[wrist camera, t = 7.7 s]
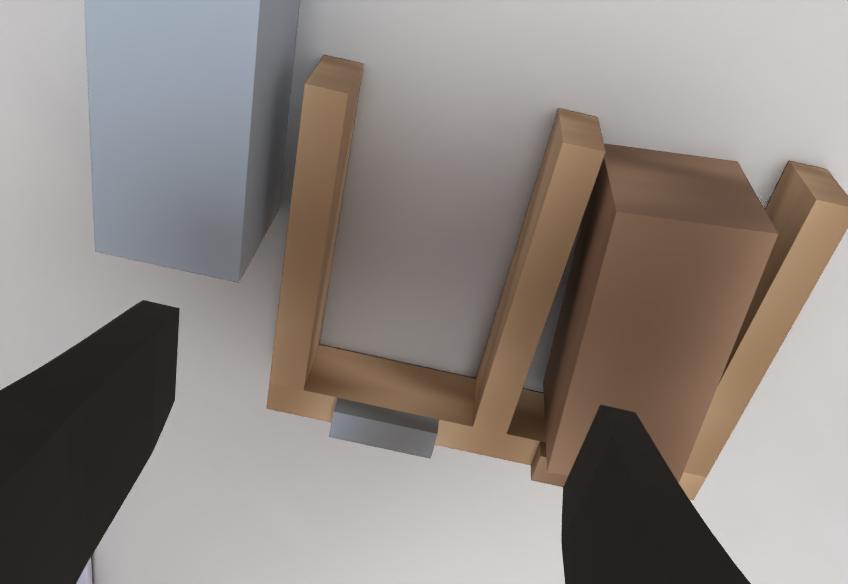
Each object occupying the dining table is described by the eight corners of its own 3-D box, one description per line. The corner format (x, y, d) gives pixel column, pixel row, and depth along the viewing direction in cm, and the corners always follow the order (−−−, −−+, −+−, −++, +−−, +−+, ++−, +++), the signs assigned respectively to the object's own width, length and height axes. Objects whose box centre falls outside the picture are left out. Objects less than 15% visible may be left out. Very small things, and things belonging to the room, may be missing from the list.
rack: (284, 362, 25) (260, 422, 23) (324, 55, 20) (299, 92, 18) (680, 448, 26) (697, 515, 23) (827, 169, 20) (867, 220, 18)
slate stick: (157, 180, 23) (95, 251, 19) (160, -134, 18) (79, -113, 15) (279, 207, 23) (238, 282, 19) (311, -99, 18) (265, -71, 15)
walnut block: (543, 379, 25) (547, 472, 22) (600, 140, 21) (616, 211, 17) (654, 394, 25) (675, 491, 22) (735, 159, 21) (778, 233, 17)
